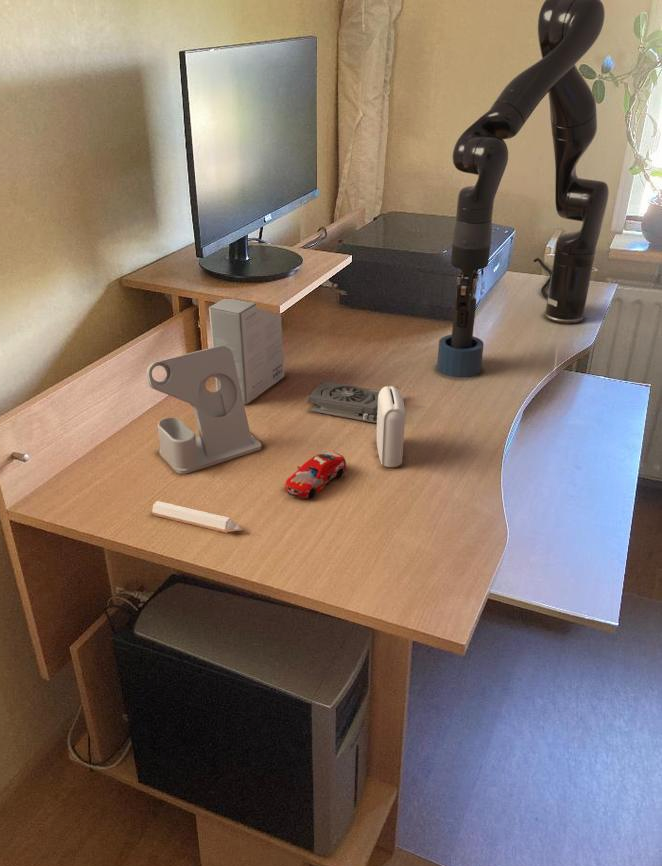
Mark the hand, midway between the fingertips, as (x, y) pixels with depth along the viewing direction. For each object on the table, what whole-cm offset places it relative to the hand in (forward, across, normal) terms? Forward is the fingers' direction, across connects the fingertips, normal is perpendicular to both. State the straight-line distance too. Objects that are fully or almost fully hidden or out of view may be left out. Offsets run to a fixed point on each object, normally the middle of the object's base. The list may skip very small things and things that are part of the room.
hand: (463, 322), depth 167 cm
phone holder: (+11, -48, +39) cm, 63 cm away
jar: (+11, 0, 0) cm, 11 cm away
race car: (+11, -53, +17) cm, 57 cm away
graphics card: (+11, -23, +18) cm, 31 cm away
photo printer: (+11, -40, +7) cm, 42 cm away
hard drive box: (+11, -21, +41) cm, 47 cm away
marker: (+11, -70, +31) cm, 78 cm away
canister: (+7, 0, 0) cm, 7 cm away
